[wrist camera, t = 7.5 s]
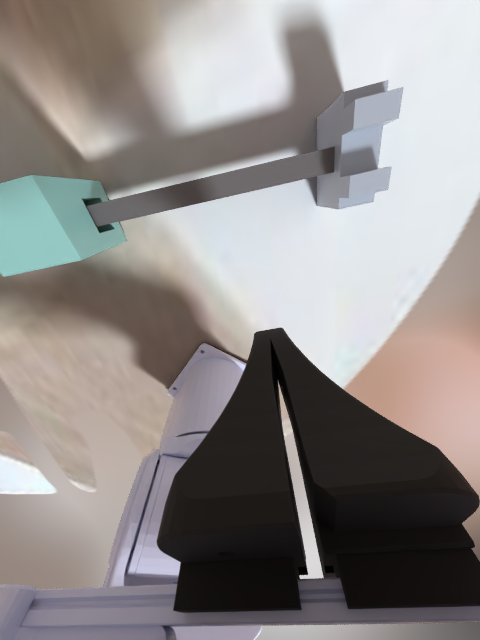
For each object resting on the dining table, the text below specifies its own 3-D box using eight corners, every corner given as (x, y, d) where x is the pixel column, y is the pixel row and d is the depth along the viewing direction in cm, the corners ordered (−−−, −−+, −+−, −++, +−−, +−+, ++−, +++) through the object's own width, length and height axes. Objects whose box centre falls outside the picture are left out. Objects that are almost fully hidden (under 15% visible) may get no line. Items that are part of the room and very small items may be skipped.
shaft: (334, 146, 13) (344, 141, 11) (333, 174, 13) (343, 172, 12) (2, 225, 15) (-20, 228, 13) (17, 246, 15) (-2, 251, 14)
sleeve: (100, 180, 14) (30, 174, 10) (127, 240, 16) (81, 260, 12) (35, 197, 15) (-61, 199, 10) (69, 253, 17) (3, 276, 12)
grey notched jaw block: (348, 109, 13) (406, 66, 9) (343, 199, 16) (386, 202, 11) (316, 118, 13) (356, 80, 9) (316, 205, 16) (347, 210, 11)
